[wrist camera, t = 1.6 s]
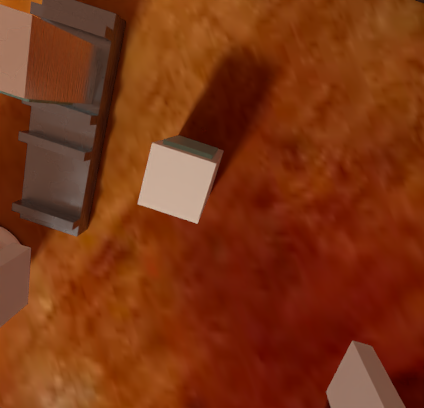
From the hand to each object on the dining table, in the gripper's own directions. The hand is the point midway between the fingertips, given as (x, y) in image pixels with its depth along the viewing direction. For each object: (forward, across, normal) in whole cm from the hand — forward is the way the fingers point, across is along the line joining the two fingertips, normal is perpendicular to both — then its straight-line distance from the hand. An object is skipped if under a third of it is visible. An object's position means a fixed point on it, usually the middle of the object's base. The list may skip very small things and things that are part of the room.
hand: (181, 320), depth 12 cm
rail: (+17, -15, +3) cm, 23 cm away
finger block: (+18, -3, +3) cm, 18 cm away
